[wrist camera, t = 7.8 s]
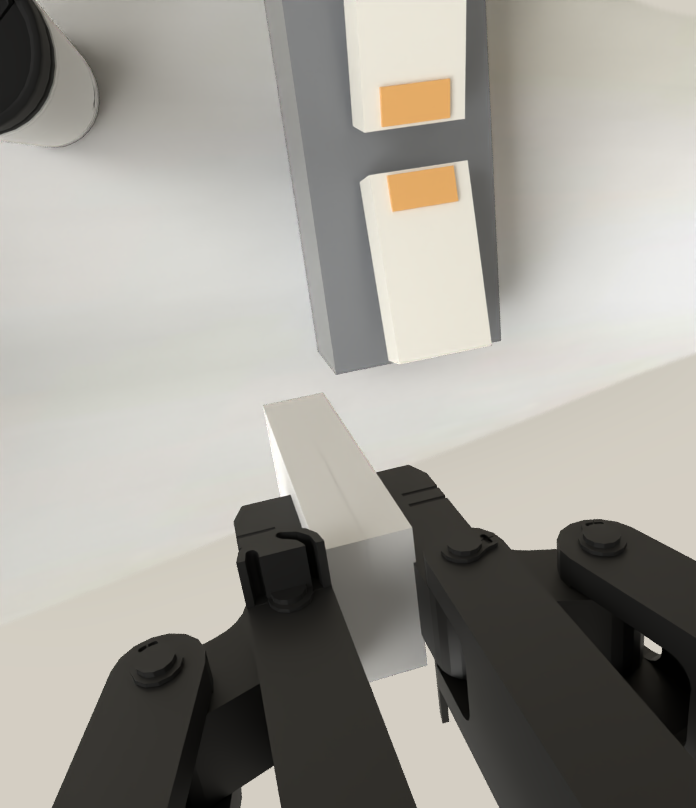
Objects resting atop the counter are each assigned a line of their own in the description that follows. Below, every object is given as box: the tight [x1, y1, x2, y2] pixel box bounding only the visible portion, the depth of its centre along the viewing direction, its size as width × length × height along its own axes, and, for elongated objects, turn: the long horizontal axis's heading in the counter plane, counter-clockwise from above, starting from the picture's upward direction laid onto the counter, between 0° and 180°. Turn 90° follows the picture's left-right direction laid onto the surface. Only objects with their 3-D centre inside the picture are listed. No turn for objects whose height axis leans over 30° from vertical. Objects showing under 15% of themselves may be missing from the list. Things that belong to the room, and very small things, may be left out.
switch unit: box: [264, 0, 501, 375], centre depth 43 cm, size 13×27×7 cm, turn 7°
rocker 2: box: [360, 160, 492, 365], centre depth 40 cm, size 6×11×3 cm, turn 7°
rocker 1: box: [344, 0, 466, 133], centre depth 35 cm, size 6×11×3 cm, turn 7°
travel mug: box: [0, 0, 99, 148], centre depth 31 cm, size 6×7×20 cm
